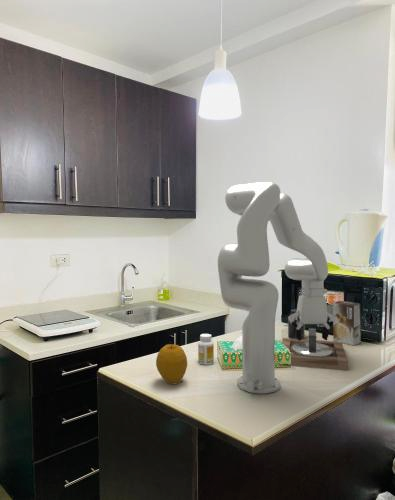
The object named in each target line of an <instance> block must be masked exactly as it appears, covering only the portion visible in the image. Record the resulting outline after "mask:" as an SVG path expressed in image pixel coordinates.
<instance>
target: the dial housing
mask: <svg viewBox="0 0 395 500" xmlns="http://www.w3.org/2000/svg"><path fill="white" fill-rule="evenodd" d="M304 342H309V339H306V338H304V339H301V341H299V340H297V339H292V338H288V337H282V340H281V345H282V344H284V345H285V346H286V347H287V348H288V349H289V350H290V352H291V365H292V366H294V367H303V368H305V367H306V368H314V369H315V368H317V369H326V370H327V369H329V370H341V371H349V360H348V356H347V354H346V352H345V348H344V344H343V343H342V342H337V341H333V340H322V339H321V340H319V339H316V343H319V344H324V345H327V346H329V347H331V348H332V349H333V355H332V356H331V357H323V356H310V355H297V354H294V353H293V352H292V346H293V345H294V344H297V343H304ZM291 365H290V366H291ZM292 366H291V367H292Z"/></svg>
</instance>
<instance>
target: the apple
mask: <svg viewBox="0 0 395 500" xmlns="http://www.w3.org/2000/svg"><path fill="white" fill-rule="evenodd" d="M187 357H188V356H187V355H186V353H185V351H184V349H183V347H182V346H180V345H178V344H171V343H169V344H166V345H164V346H163V347H161V348H160V350H159V351H158V353H157V356H156V358H155V359H156V360H155V365H156V369H157V372H158V373H159V375H160V376H161V378H162V379H163V380H164V381H165V382H166V383H167V384H170V383H177V384H179V383H180V382H182V380H183V378H184V377H185V374H186V372H187V371H186V370H187V368H188V359H187ZM178 382H179V383H178Z"/></svg>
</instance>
